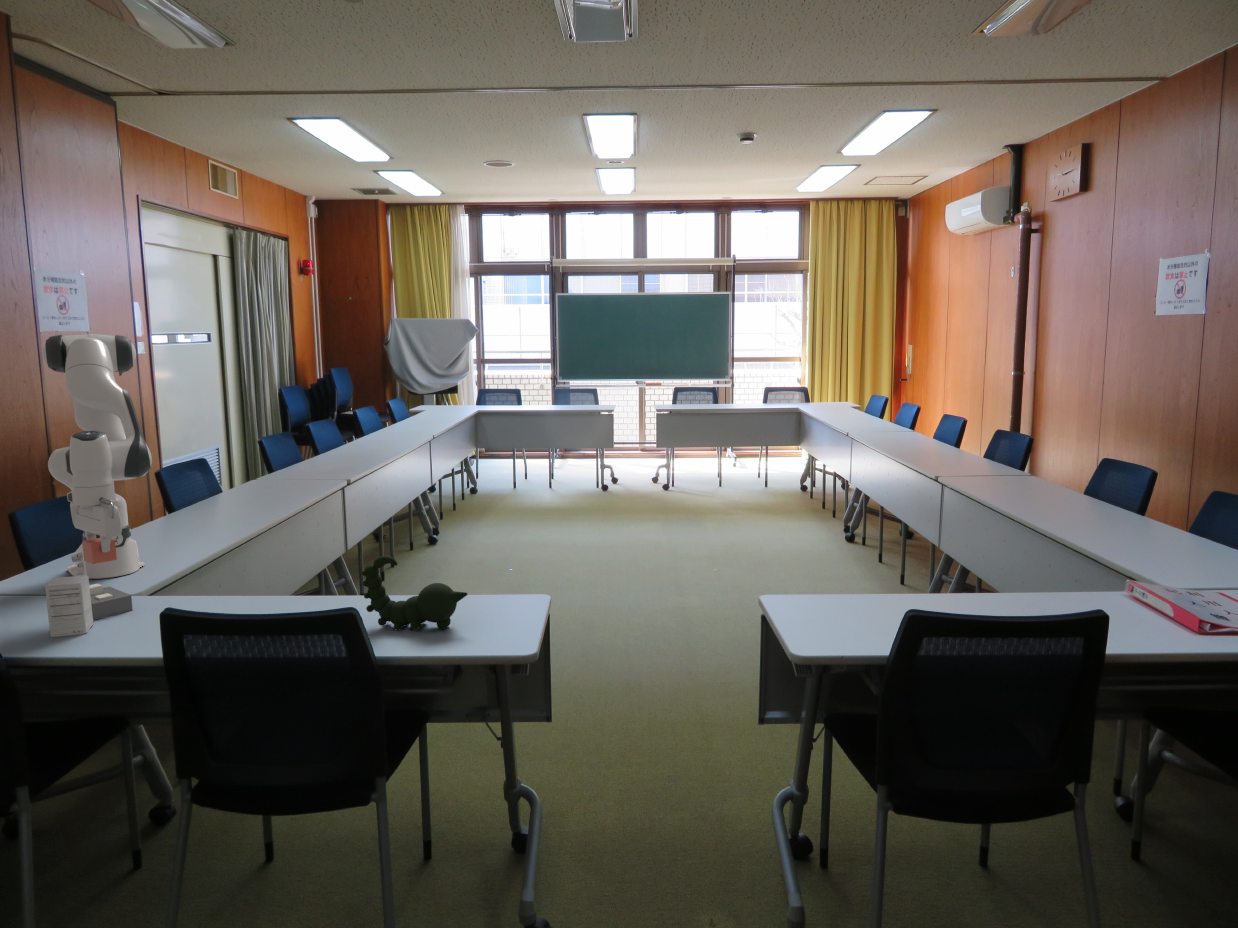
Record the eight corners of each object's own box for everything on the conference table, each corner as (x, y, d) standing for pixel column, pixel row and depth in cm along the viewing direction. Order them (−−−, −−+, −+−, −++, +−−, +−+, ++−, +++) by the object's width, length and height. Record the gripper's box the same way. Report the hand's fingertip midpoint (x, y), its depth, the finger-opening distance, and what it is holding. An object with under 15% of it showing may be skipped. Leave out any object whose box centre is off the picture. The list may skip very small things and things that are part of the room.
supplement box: (58, 627, 193) (53, 577, 192) (94, 624, 196) (89, 574, 194) (49, 637, 187) (43, 585, 185) (86, 633, 189) (81, 582, 187)
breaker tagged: (96, 611, 204) (94, 595, 203) (109, 607, 206) (107, 593, 206) (101, 613, 202) (99, 598, 202) (114, 610, 205) (112, 595, 204)
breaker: (85, 601, 207) (84, 586, 207) (98, 598, 210) (97, 583, 209) (90, 603, 206) (89, 588, 205) (103, 600, 208) (102, 585, 207)
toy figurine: (364, 639, 190) (465, 633, 188) (353, 562, 188) (456, 555, 185) (379, 625, 200) (476, 620, 197) (369, 552, 197) (467, 545, 194)
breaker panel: (68, 610, 206) (66, 594, 205) (110, 600, 214) (109, 585, 213) (89, 620, 198) (87, 603, 198) (132, 610, 206) (131, 593, 206)
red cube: (84, 560, 202) (82, 540, 201) (107, 556, 206) (105, 536, 205) (93, 564, 199) (91, 543, 198) (116, 559, 203) (114, 539, 202)
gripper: (126, 498, 197) (131, 553, 198) (91, 490, 208) (96, 541, 210) (98, 502, 192) (103, 558, 193) (63, 493, 203) (69, 546, 205)
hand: (99, 549), depth 202 cm, fingers closed on red cube, 5 cm apart
